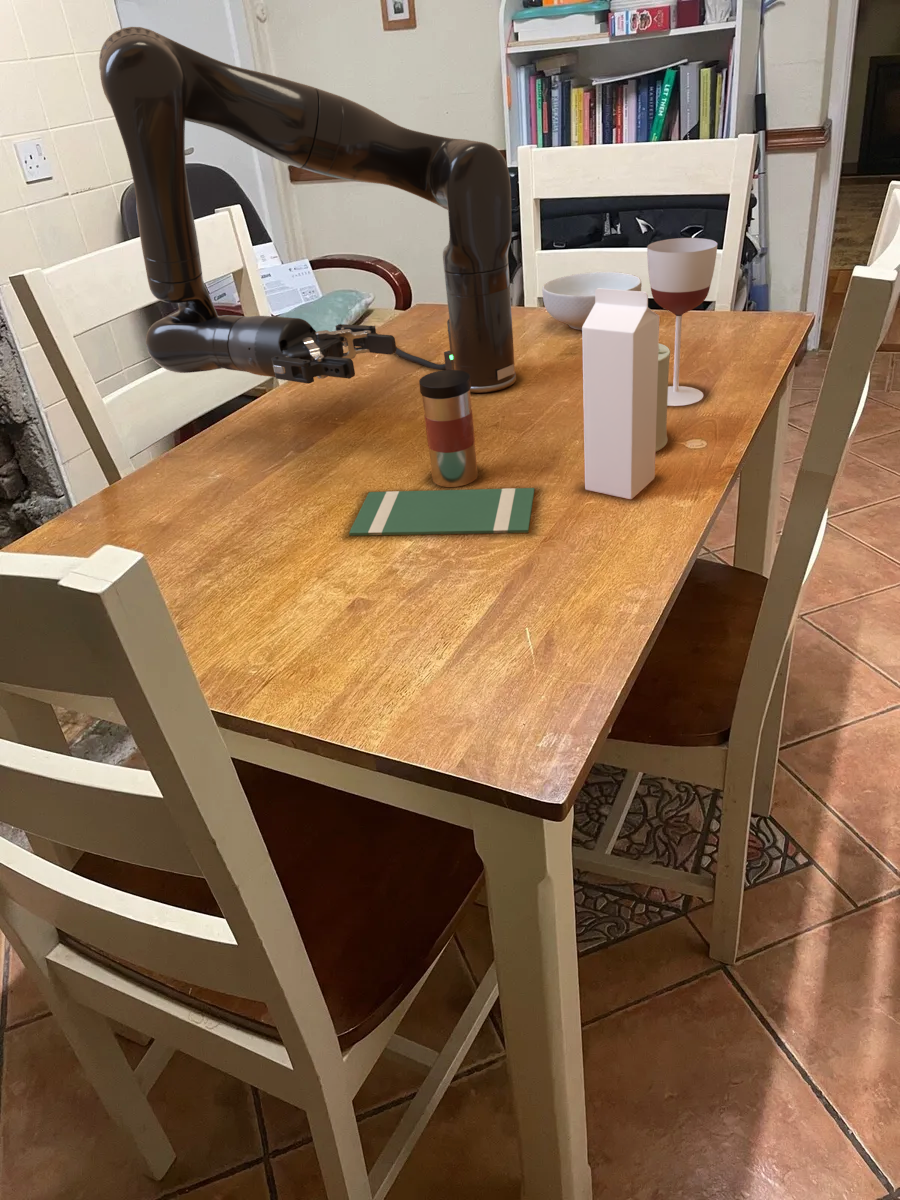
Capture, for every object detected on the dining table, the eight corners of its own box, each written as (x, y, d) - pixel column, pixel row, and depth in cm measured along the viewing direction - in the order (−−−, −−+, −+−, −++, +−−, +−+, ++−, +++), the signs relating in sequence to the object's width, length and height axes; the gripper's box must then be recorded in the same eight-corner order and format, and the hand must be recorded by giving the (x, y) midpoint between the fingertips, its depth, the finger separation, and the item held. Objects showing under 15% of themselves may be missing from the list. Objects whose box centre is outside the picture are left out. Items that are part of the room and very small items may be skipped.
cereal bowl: (659, 316, 153) (660, 274, 149) (605, 344, 144) (604, 300, 140) (580, 305, 163) (579, 266, 160) (524, 331, 154) (522, 290, 150)
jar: (422, 477, 108) (409, 379, 101) (461, 462, 111) (451, 366, 104) (448, 492, 104) (436, 391, 97) (488, 477, 106) (480, 377, 99)
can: (667, 456, 106) (671, 359, 99) (591, 457, 108) (589, 362, 101) (667, 426, 113) (670, 334, 107) (595, 427, 115) (594, 337, 109)
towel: (369, 494, 105) (368, 491, 105) (534, 490, 102) (534, 487, 102) (349, 535, 97) (348, 532, 97) (528, 533, 94) (528, 529, 94)
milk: (609, 470, 105) (608, 280, 93) (655, 479, 101) (661, 283, 89) (583, 490, 101) (580, 295, 89) (631, 500, 97) (634, 299, 85)
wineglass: (696, 409, 117) (705, 253, 106) (635, 402, 121) (637, 251, 110) (715, 388, 122) (725, 238, 111) (655, 382, 127) (660, 237, 116)
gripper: (227, 335, 105) (331, 344, 98) (302, 301, 115) (402, 307, 107) (242, 394, 110) (343, 408, 102) (313, 357, 119) (411, 366, 111)
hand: (373, 356), depth 104 cm, fingers open, 8 cm apart
